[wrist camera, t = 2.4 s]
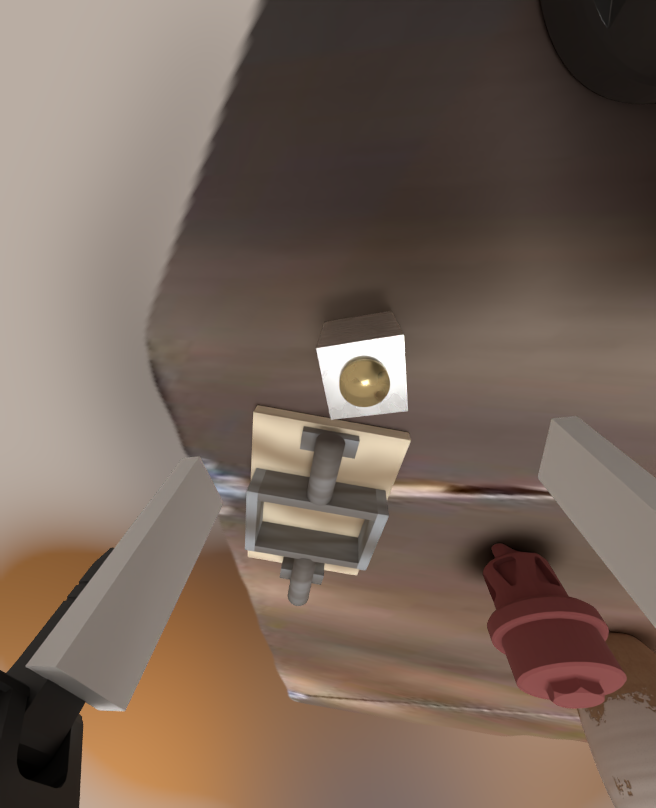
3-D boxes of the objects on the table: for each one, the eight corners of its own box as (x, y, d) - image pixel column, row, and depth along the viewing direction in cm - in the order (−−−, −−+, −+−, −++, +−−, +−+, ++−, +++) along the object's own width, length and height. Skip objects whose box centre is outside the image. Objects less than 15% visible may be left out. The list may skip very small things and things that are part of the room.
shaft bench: (257, 404, 26) (233, 446, 21) (408, 432, 26) (422, 480, 21) (250, 548, 37) (234, 598, 32) (356, 565, 37) (357, 618, 32)
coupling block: (324, 321, 22) (314, 351, 16) (391, 310, 21) (405, 338, 15) (335, 380, 24) (330, 424, 19) (395, 372, 23) (409, 416, 18)
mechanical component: (490, 588, 38) (448, 552, 35) (570, 562, 34) (531, 518, 31) (543, 725, 27) (490, 691, 24) (669, 710, 23) (625, 667, 20)
